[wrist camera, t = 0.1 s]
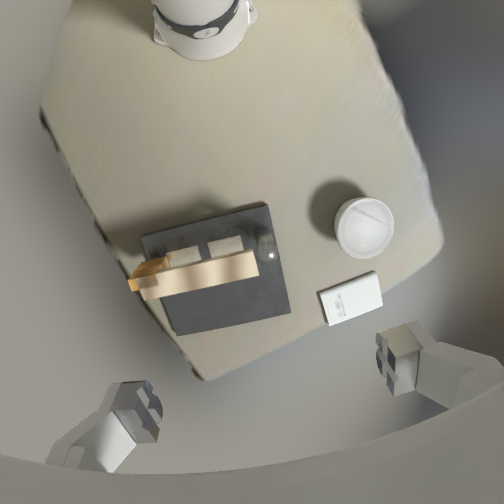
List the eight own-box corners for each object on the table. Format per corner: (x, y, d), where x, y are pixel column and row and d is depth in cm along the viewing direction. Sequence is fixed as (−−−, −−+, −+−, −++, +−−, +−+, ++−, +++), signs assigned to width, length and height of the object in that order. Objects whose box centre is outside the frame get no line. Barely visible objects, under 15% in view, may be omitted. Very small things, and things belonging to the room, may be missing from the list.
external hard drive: (380, 302, 65) (327, 323, 66) (373, 270, 63) (318, 291, 64) (383, 306, 64) (329, 327, 65) (376, 273, 61) (320, 295, 62)
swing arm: (251, 235, 55) (253, 251, 48) (256, 257, 56) (259, 275, 49) (141, 262, 56) (127, 280, 48) (148, 282, 57) (136, 302, 50)
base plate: (142, 235, 58) (120, 257, 47) (267, 204, 57) (274, 220, 46) (177, 333, 65) (167, 368, 54) (290, 309, 64) (300, 344, 53)
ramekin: (380, 189, 57) (392, 193, 52) (384, 244, 60) (395, 253, 55) (325, 197, 57) (333, 202, 52) (332, 254, 61) (339, 264, 56)
